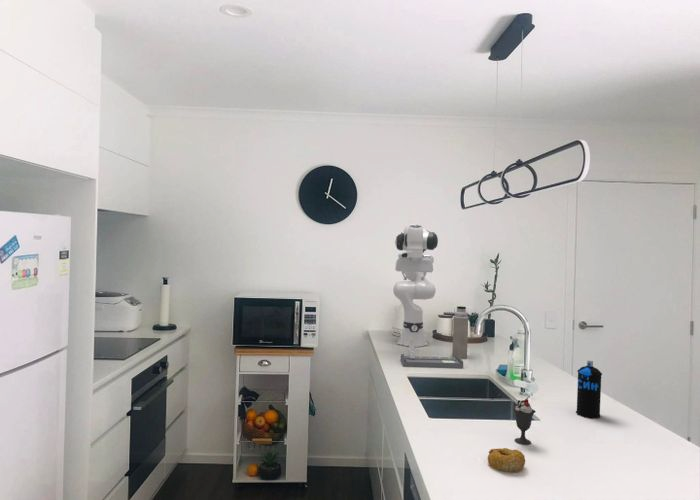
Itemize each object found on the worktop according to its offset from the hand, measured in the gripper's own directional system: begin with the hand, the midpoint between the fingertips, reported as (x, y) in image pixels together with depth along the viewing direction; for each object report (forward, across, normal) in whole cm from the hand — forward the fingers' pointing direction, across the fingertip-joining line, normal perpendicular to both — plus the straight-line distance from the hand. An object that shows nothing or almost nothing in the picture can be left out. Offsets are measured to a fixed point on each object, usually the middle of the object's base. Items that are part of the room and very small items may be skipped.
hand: (413, 280), depth 260 cm
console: (+42, -8, +13) cm, 45 cm away
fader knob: (+39, +2, +13) cm, 41 cm away
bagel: (+45, -8, +126) cm, 134 cm away
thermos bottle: (+42, -28, -5) cm, 50 cm away
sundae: (+44, -19, +110) cm, 120 cm away
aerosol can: (+44, -54, +83) cm, 108 cm away
